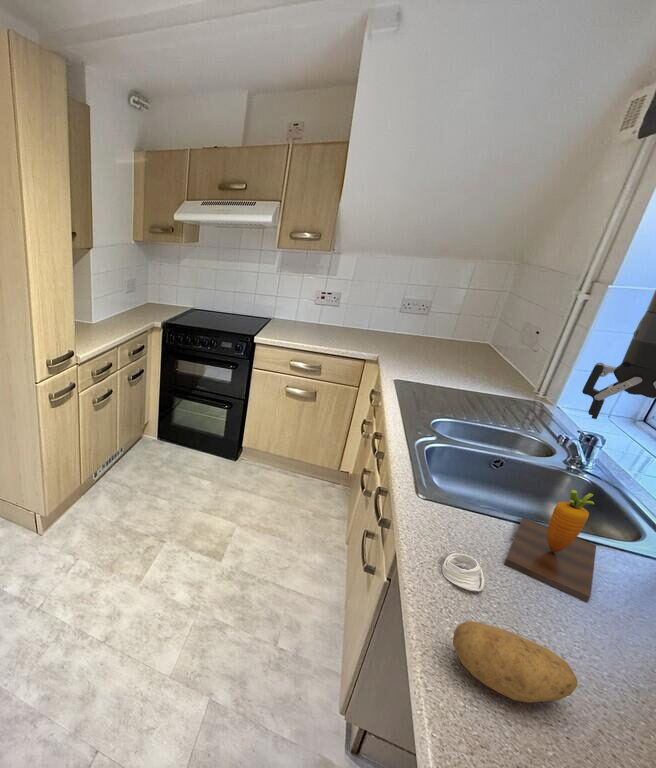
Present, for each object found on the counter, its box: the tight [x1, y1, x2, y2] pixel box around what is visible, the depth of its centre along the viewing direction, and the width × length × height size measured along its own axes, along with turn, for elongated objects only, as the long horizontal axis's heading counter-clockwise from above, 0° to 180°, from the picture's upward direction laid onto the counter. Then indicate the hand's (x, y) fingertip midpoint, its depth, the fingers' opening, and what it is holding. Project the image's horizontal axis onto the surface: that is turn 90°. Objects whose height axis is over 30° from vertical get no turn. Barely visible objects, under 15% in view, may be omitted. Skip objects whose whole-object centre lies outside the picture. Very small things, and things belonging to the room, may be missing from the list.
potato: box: [452, 620, 578, 703], centre depth 60 cm, size 10×14×8 cm
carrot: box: [547, 489, 595, 552], centre depth 82 cm, size 5×5×15 cm
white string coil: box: [441, 552, 485, 592], centre depth 79 cm, size 8×7×5 cm
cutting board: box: [503, 516, 597, 603], centre depth 85 cm, size 20×12×2 cm, turn 132°
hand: (626, 425), depth 76 cm, fingers open, 8 cm apart
